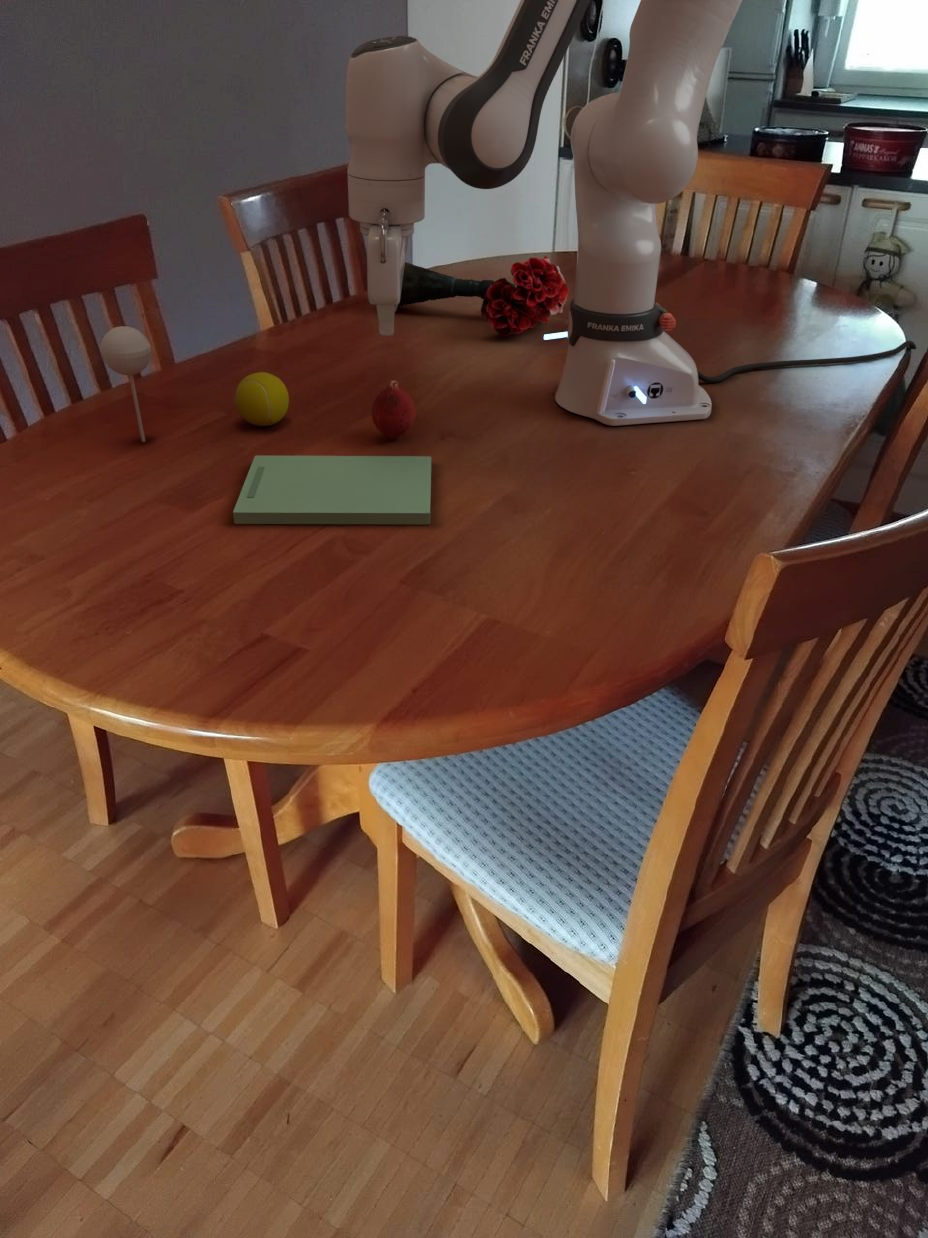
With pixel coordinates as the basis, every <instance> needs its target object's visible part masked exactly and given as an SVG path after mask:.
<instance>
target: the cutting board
mask: <svg viewBox="0 0 928 1238" xmlns="http://www.w3.org/2000/svg"><path fill="white" fill-rule="evenodd" d="M431 499H432V456H431V455H430V456H429V455H425V456H424V455H256V454H255V455H254V456H253V460H252V461H251V465H250V468H249V470H248V472H247V475H246V477H245V480H244V483H243V484H242V488H241V490H240V493H239V494H238V498H237V501H236V503H235V506H234V508H233V511H232V516H233V517H232V518H233V523H234V525H417V526H418V525H419V526H420V525H424V526H425V525H426V526H427V525H429V526H430V525H431V507H432V506H431V505H432V504H431V502H432V501H431Z"/></svg>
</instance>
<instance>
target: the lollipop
mask: <svg viewBox="0 0 928 1238" xmlns="http://www.w3.org/2000/svg"><path fill="white" fill-rule="evenodd" d="M99 351H100V355H101V358H102V359H103V362H104V364H106V365H107V367H108V368H109V369H110V370H112V371H113V372H114V373H117V374H118V375H119V374H120V375H122V376H128V377H129V383H130V388H131V394H132V398H133V403H134V409H135V414H136V418H137V424H138V429H139V434H140V439H141V442H142V443H145V442H146V437H145V432H144V427H143V421H142V415H141V411H140V405H139V400H138V396H137V390H136V385H135V380H134V375H137V374H139V373H141V372H143V371H144V370H145V369H146V368H147V367H148V365H149V363H150V361H151V356H152V346H151V343H150V342H149V340H148V338H147V337H146V336H145V335H144V334H143V333H142V332H141V331H140V330H139V329H137V328H135V327H132V326H131V327H130V326H126V325H121V326H116V327H113V328H111V329H110V330H109V331H107V332H106V333H105V335H104V337H103V338H102V340H101V343H100V347H99Z"/></svg>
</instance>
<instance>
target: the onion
mask: <svg viewBox="0 0 928 1238" xmlns="http://www.w3.org/2000/svg"><path fill="white" fill-rule="evenodd" d="M399 384H400V382H398V381H397V380H395V379H393V380H390V381H389V383H388V384H387V387H386V388H385V389H383V390H382V391H381V392H379V393H378V395H377V396H376V397H375V399H374V400H373V402H372V407H371V418H372V422H373V425H374V426H375V428H376V429H377V430H378V431H379V432H380V433H381V434H382V435H384V436H386V437H388V438H389V439H391V440H395V441H396V440H398V439H400V438H401V437H402V436H403V435H404V434H406V433H408V432H409V431H410V430H411V428H412V427H413V425H414V423H415V422H416V418H417V409H416V406H415V405H416V404H415V403H414V400H413V398H412V396H410V394H409V393H408V392H406V390H404V389H403V388H400V386H399Z"/></svg>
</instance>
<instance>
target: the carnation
mask: <svg viewBox="0 0 928 1238" xmlns="http://www.w3.org/2000/svg"><path fill="white" fill-rule="evenodd" d="M510 273H511V276H512V280H513V282H510V281H508V279H507V278H506V277H502V278H499V279H496V280H495V281H494V280H493V279H482V280H478V279H477V280H476V279H472V278H471V279H466V278H465V279H463V278H457V277H455V276H451V275H447V274H444V273H442V272H441V273H440V272H438V271H435V270H431V269H430V268H429V269H428V268H425V267H423V266H420V265H416V264H413V263H411V262H406V261H405V266H404V274H403V281H402V289H401V297H400V302H399V304H398V305H397V308H398V307H399V306H400V307H403V306H408V305H413V304H420V303H425V302H428V301H437V300H444V299H450V298H456V297H465V298H473V297H477V298H480V299H481V300H482V303H481V307H480V308H481V309H480V314H481V317H483V318H484V319H486V320H487V321H488V323H489V325H490V326H491V328H492V329H494V330H495V331H496V333H497V334H498V335H499V336H500V337H502V338H505V337H507V336H512V335H514V334H516V335H519V334H520V333H523V332H524V331H525V330H527V329H528V328H531V329H533V328H534V327H535V326H537V325H538V322H540V323H542V324H543V325H548V324H549V319H550V316H553V315H554V316H555V315H557V314H558V313H560V314H562V313H563V310H564V309H563V307H564V305H566V302H567V299H568V298H567V297H568V296H569V294H570V288H569V287H568V285H567V284H566V280H565V277H564V275H563V274H562V273H561V269H560V267H559V265H556V264H554V263H551V259H550V258H549V257H548V256H547V255H544V257H543V258H538V257H530V258H528V259H527V260H525V261H524V262H518V261H517V262H514V263H513V264H511V268H510Z"/></svg>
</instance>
